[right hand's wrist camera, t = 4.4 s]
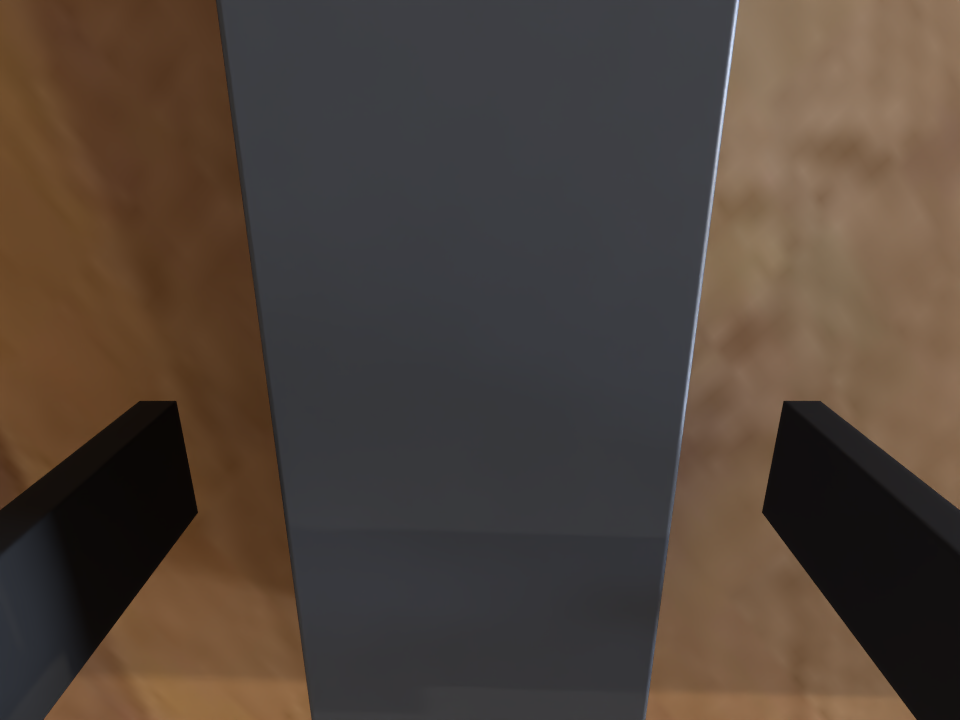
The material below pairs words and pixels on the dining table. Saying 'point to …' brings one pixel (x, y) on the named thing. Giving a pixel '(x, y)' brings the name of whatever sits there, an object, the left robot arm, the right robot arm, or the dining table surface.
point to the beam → (478, 333)
